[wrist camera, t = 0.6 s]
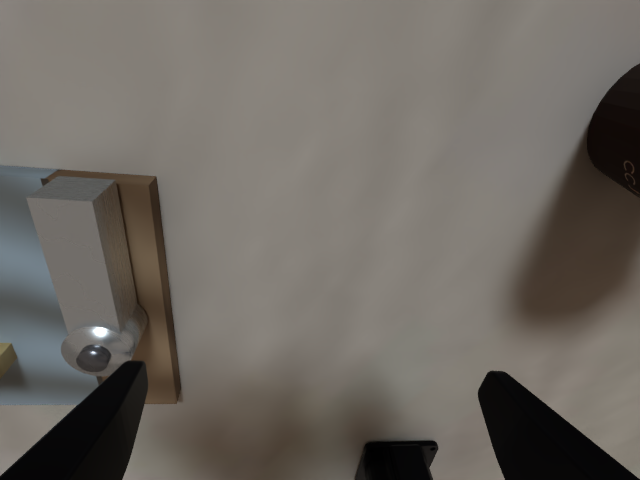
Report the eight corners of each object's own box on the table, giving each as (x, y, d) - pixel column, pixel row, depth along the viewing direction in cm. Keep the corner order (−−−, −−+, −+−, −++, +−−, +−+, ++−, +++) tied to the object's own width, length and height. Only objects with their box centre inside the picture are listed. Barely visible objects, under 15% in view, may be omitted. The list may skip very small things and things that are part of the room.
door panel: (180, 388, 26) (166, 440, 23) (-39, 389, 24) (-89, 445, 21) (156, 176, 18) (128, 209, 15) (-172, 153, 16) (-285, 185, 13)
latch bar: (150, 338, 22) (131, 384, 19) (92, 337, 21) (63, 384, 18) (124, 180, 17) (93, 211, 14) (48, 175, 16) (1, 205, 14)
